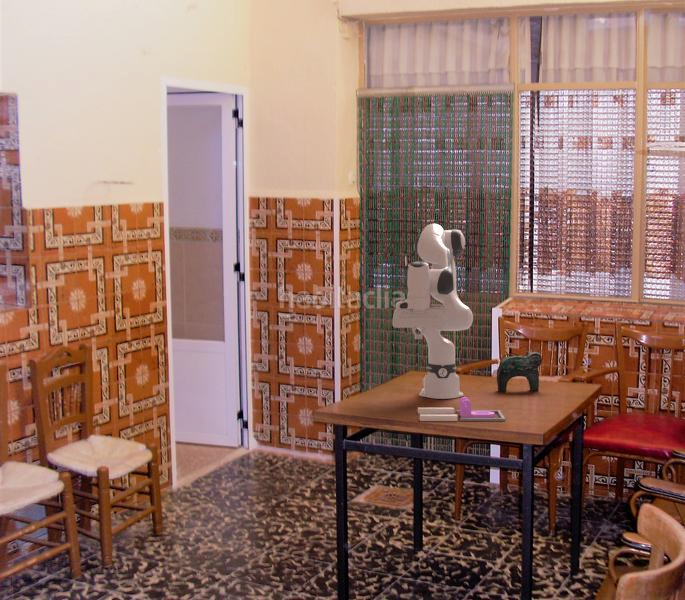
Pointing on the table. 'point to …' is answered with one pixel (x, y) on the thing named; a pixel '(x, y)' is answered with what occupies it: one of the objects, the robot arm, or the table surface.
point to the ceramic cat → (519, 369)
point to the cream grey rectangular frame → (451, 415)
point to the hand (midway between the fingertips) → (418, 339)
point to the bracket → (467, 413)
